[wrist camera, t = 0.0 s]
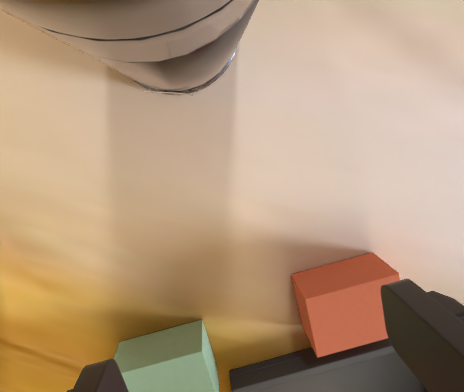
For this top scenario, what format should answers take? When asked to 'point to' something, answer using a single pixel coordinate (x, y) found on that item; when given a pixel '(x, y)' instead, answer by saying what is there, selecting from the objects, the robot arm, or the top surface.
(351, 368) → the frame
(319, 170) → the top surface
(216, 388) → the sage pad
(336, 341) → the terracotta pad
